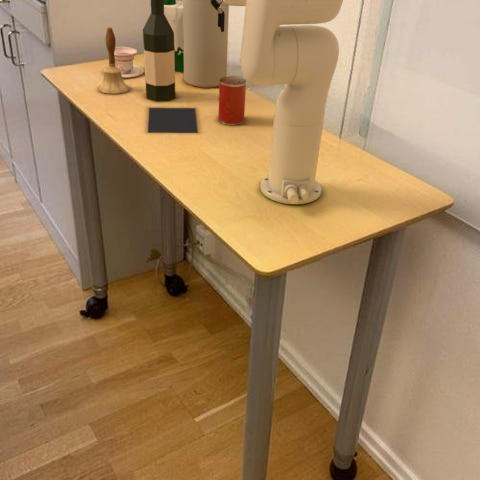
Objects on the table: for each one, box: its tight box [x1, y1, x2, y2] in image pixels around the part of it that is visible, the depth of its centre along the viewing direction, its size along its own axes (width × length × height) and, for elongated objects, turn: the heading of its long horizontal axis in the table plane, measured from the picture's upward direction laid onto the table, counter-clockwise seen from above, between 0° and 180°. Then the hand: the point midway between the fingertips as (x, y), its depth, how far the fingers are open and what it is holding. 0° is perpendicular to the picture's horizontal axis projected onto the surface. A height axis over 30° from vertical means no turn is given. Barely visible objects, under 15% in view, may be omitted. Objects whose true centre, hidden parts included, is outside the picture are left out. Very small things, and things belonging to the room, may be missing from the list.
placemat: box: [147, 107, 199, 134], centre depth 148 cm, size 16×12×1 cm
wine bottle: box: [142, 0, 176, 102], centre depth 151 cm, size 8×8×30 cm
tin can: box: [217, 75, 247, 126], centre depth 147 cm, size 7×7×10 cm
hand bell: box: [98, 27, 130, 95], centre depth 158 cm, size 8×8×16 cm
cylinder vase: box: [182, 0, 230, 89], centre depth 164 cm, size 12×12×25 cm
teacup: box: [103, 46, 145, 79], centre depth 173 cm, size 12×12×6 cm
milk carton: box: [164, 0, 184, 73], centre depth 174 cm, size 9×9×20 cm
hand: (242, 31), depth 138 cm, fingers open, 9 cm apart
